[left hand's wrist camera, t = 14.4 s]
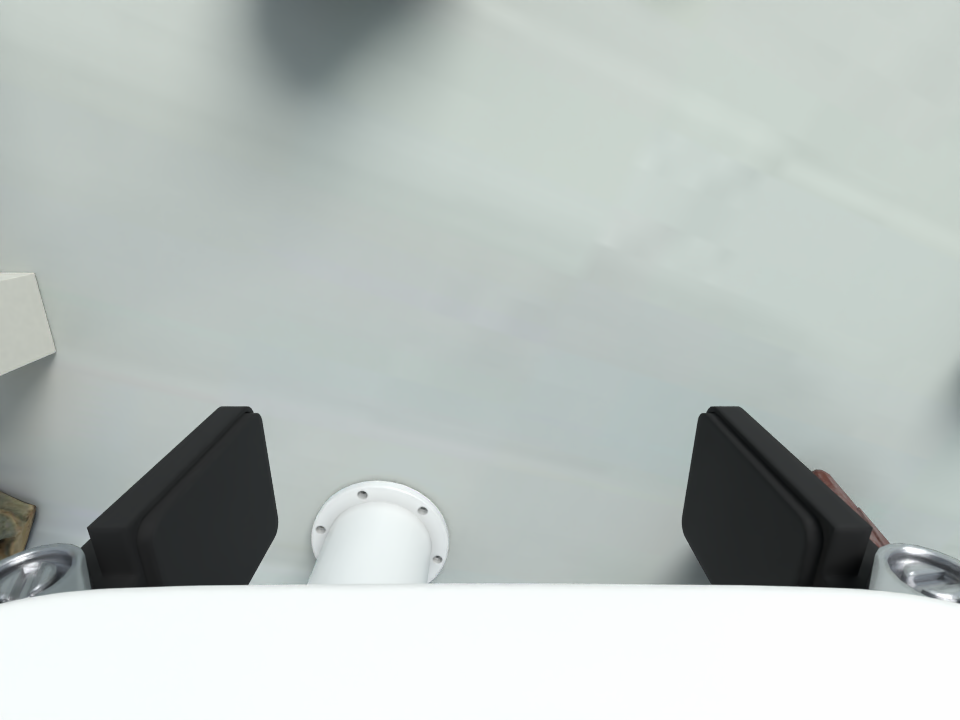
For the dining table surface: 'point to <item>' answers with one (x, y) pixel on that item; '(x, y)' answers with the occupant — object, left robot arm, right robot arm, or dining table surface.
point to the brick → (22, 322)
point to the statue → (14, 525)
